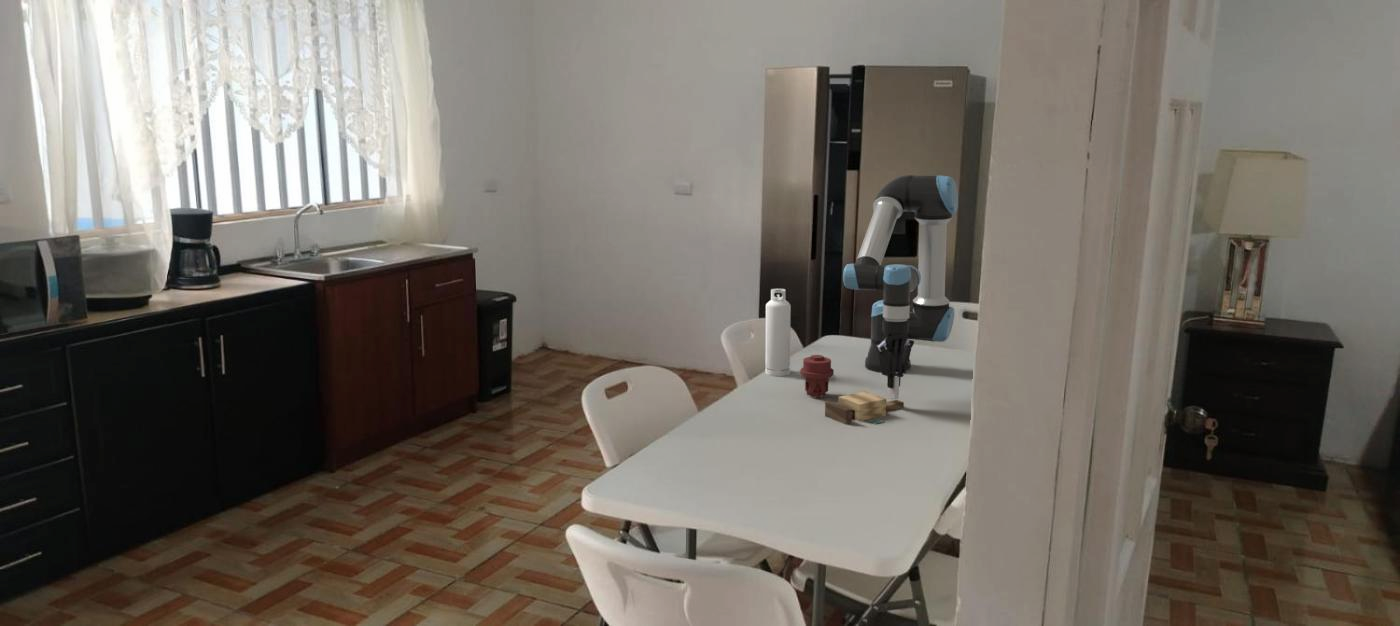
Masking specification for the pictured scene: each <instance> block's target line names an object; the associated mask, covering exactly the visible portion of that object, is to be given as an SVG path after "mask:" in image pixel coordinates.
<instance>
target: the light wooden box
mask: <svg viewBox="0 0 1400 626" xmlns="http://www.w3.org/2000/svg"><path fill="white" fill-rule="evenodd" d="M837 398H838V399H837V402H838V403H837V404H839V405H842V406H844V407H847V408H850V409H852V410H854V411H855V418H854V421H856V422H863V421H867V420H868V421H869V420H872V419H877V418H881V417H884V416H886V415H887V411H886V402H887V398H885V397H882V396H880V395H877V394H874V393H870V392H868V391H866V390H865V391H861V392H860V391H859V392H855V393H850V394H846V395H841V396H838V397H837Z"/></svg>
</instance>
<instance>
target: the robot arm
mask: <svg viewBox="0 0 1400 626" xmlns="http://www.w3.org/2000/svg"><path fill="white" fill-rule="evenodd" d="M958 209H959V193H958V187H957V183H956V181H955V180H954V178H953V177H952V176H946V175H939V174H937V175H936V174H934V175H933V174H932V175H931V174H929V175H927V174H926V175H923V174H922V175H919V174H918V175H914V174H906V175H905V174H904V175H900V176H898V177H896V178H894V179H892V180H890V181H889V182H888V183H887V184H885V185H884V186H883V187H882V188H881V190H879V192H878V193H877V195H876V196H875V198H874V202H873V204H872V210H873V213H872V217H871V218H870V222H869V224H868V227H867V229H866V232H865V235H864V238H863V241H862V243H861V246H860V249H859V252H858V255H857V257H856V261H855V262H853V263H848V264H846V265H845V266H844V268H843V273H842V281H843V285H844V287H845V288H846V289H850V290H856V291H860V290H862V291H875V292H883V294H882V295H883V299H881V300H877V301H876V302H874V303H873V304H872V307H871V314H870V317H871V319H870V320H871V321H870V322H871V324H870V325H871V326H870V346H869V348H868V352H867V357H865V360H864V368H866V369H868V370H870V371H874V372H878V373H881V375H883V376H885V377H887V379H886V380H887V383H886V384H887V388H888V394H887V395H888V398H889V399H892V400H898V399H900V397H899V395H900V394H899V393H900V387H901V378H903V377H904V374H906V373H907V371H908V372H909V370H911V366H912V364H911V361H912V360H911V359H910V356H911V352H912V351H911V350H912V348H913V346H914V344H915V341H923V342H924V341H925V342H927V341H928V342H932V343H934V342H935V343H936V342H939V343H940V342H945V341H947V340H948V338H949V337H950V334H951V333H952V329H953V324H954V320H955V319H954V318H955V308H954V307H953V306H950V300H949V299H948V297H946V296H945V295H946V267H947V265H946V264H947V263H946V261H947V259H946V258H947V233H948V232H947V231H948V230H947V228H948V223H949V222H950V221H951V220H952V219H953V214H957V212H958ZM904 212H909V213H914V219H915V220H916V221H917V222H918V223H919V227H918V228H919V229H918V231H919V232H918V233H919V235H918V264H917V265H918V268H917V267H916V266H914V265H909V264H908V265H907V264H901V263H900V264H898V263H897V264H895V263H894V264H888V265H882V263H883V261H884V260H883V259H884V257H885V254H886V251H887V249H888V245H889V244H890V243H889V242H890V240H891V236H892V234H893V232H894V228H895V225H896V222H897V219H899V218H900V217H901V216H902V215H903V213H904ZM916 289H917V296H916V297H914V298H913V299H912V303H910V302H911V301H910V300H911V299H910V297H911V292H913V291H915V290H916Z"/></svg>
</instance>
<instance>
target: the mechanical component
mask: <svg viewBox="0 0 1400 626" xmlns="http://www.w3.org/2000/svg"><path fill="white" fill-rule="evenodd" d="M802 363H803V364H802V367H801V368H800V371H799V372H800V376H802V377H803V378H804V384H805V385H804V391H805V392H806V395H807V396H811V397H813V398H814V399H820V398H821V397H822V396H825V395H826V394H827V393H828V391H829V379H830V378H832V377H833V376H834V369H833V368H832V360H831V358H829V357H825V356H824V355H821V354H813V355H812V354H811V355H810V356H807V357H804V358H803V362H802Z"/></svg>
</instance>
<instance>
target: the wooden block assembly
mask: <svg viewBox="0 0 1400 626" xmlns="http://www.w3.org/2000/svg"><path fill="white" fill-rule="evenodd" d="M904 404H905V402H904V401H901V400H898V399H892V400H890V401H886V412H888V411H893V410H897V409H901V408H904V407H905V406H904ZM824 416H825V417H827V418H829V419H831V420H834V421H836V422H839V423H841V424H844V425H849V424H852V419H855V411H854V410H852V409H850V408H847V407H844V406H842V405H839V404H838V403H836V402H834V401H826V402H825V403H824ZM868 422H870V423H872V424H875V425H878V424H882V423H885V421H884V420H881V419H880V418H872V419H868Z"/></svg>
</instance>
